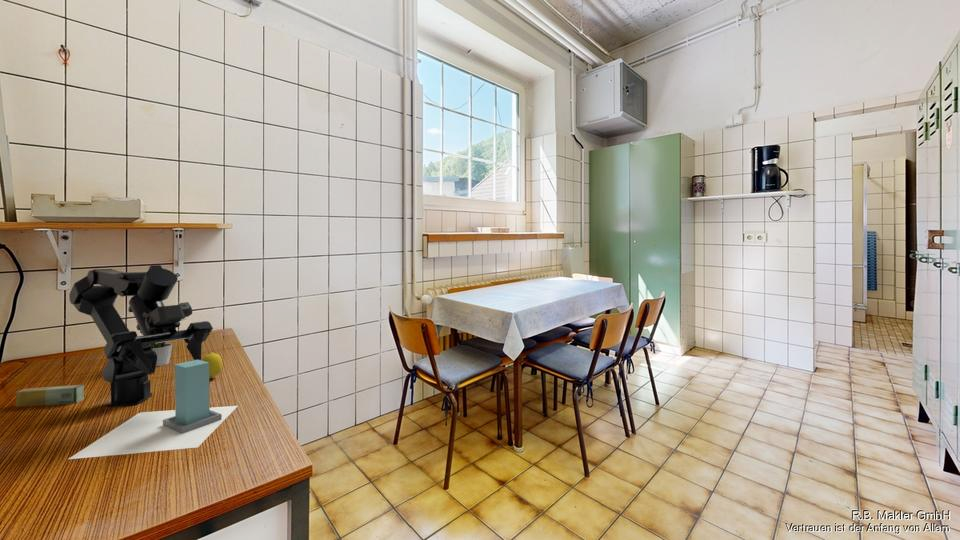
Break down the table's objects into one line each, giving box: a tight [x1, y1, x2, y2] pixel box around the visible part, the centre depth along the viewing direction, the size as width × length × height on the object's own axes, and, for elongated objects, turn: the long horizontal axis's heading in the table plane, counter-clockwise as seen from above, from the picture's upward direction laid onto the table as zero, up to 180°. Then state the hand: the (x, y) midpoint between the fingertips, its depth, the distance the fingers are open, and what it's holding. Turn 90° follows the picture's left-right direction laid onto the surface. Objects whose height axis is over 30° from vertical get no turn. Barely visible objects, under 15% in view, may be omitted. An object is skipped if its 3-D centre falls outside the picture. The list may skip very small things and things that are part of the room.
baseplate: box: [67, 405, 238, 460], centre depth 79 cm, size 20×20×1 cm
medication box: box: [15, 384, 85, 408], centre depth 93 cm, size 12×3×4 cm, turn 104°
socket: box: [163, 410, 222, 434], centre depth 81 cm, size 8×8×1 cm
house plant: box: [135, 318, 186, 367], centre depth 126 cm, size 14×14×16 cm
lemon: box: [201, 351, 224, 379], centre depth 112 cm, size 6×6×8 cm
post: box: [174, 359, 210, 426], centre depth 81 cm, size 4×4×13 cm
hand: (176, 367), depth 84 cm, fingers open, 9 cm apart
